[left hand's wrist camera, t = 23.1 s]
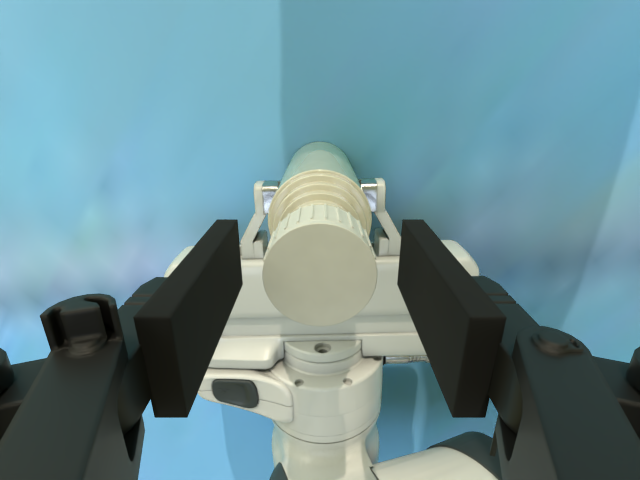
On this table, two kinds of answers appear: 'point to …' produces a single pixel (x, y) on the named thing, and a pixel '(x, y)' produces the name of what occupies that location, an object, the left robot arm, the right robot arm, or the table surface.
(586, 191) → the table surface
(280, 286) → the cap
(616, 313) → the table surface
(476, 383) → the left robot arm
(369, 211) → the bottle
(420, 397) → the table surface
